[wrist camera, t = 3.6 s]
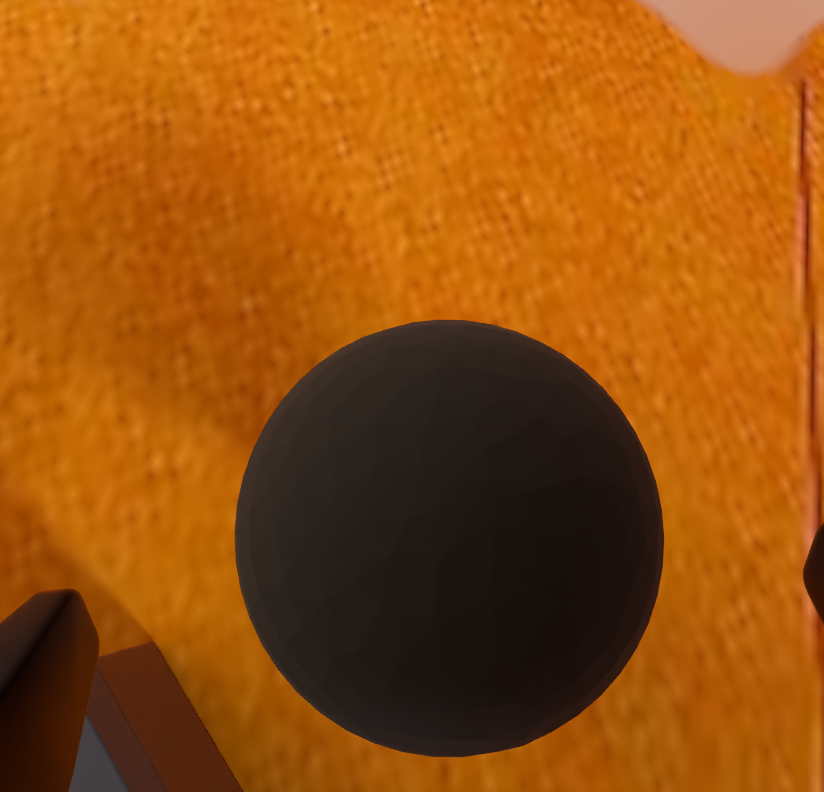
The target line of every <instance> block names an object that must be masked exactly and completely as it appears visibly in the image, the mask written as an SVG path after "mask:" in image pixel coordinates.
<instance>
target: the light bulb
mask: <svg viewBox="0 0 824 792" xmlns="http://www.w3.org/2000/svg"><path fill="white" fill-rule="evenodd" d="M663 549H664V531H663V519H662V508H661V504H660V499H659V494H658V489H657V484H656V481H655V478H654V475H653V472H652V469H651V466H650V463H649V460H648V457H647V455H646V453H645V451H644V449H643V447H642V445H641V443H640V441H639V439H638V436H637V434H636V432H635V431H634V429H633V427H632V426H631V424H630V423H629V421H628V420H627V418H626V417H625V415H624V414H623V412H622V411H621V409H620V408H619V406H618V405H617V404H616V403H615V402H614V401H613V399H612V398H611V397H610V396H609V395H608V393H607V392H606V391H605V390H604V389H603V387H601V386H600V385H599V384H598V383H597V382H596V381H595V380H594V379H593V378H592V377H591V376H590V375H589V374H588V373H587V372H585V371H584V370H583V369H582V368H581V367H579V366H578V365H576V364H575V363H574V362H572V361H571V360H570V359H568V358H567V357H566V356H564V355H563V354H561V353H559V352H558V351H556V350H554V349H552V348H550V347H549V346H547V345H545V344H543V343H541V342H539V341H537V340H535V339H532V338H530V337H528V336H525V335H523V334H521V333H518V332H516V331H513V330H509V329H505V328H502V327H498V326H495V325H491V324H485V323H478V322H472V321H465V320H432V321H422V322H413V323H409V324H405V325H401V326H398V327H394V328H390V329H386V330H383V331H380V332H377V333H374V334H371V335H368V336H365V337H362V338H360V339H358V340H357V341H355V342H353V343H351V344H349V345H347V346H345V347H343V348H341V349H339V350H338V351H336V352H335V353H333V354H332V355H330V356H329V357H327V358H326V359H324V360H323V361H322V362H320V363H319V364H318V365H316V366H315V367H314V368H313V369H312V370H311V371H310V372H308V373H307V374H306V375H305V376H304V377H303V378H302V379H300V380H299V381H298V383H297V384H296V385H295V386H294V387H293V388H292V389H291V391H290V392H289V393H288V394H287V395H286V396H285V397H284V398H283V400H282V401H281V402H280V404H279V405H278V407H277V408H276V410H275V411H274V412H273V414H272V415H271V417H270V418H269V420H268V421H267V423H266V425H265V427H264V429H263V431H262V433H261V435H260V437H259V438H258V440H257V442H256V444H255V446H254V449H253V451H252V454H251V456H250V459H249V462H248V465H247V468H246V470H245V473H244V476H243V480H242V485H241V489H240V494H239V498H238V503H237V512H236V523H235V552H236V565H237V570H238V576H239V582H240V588H241V592H242V595H243V598H244V601H245V605H246V608H247V611H248V614H249V617H250V620H251V622H252V624H253V626H254V628H255V630H256V633H257V635H258V637H259V639H260V641H261V643H262V645H263V647H264V648H265V650H266V651H267V653H268V655H269V656H270V658H271V659H272V661H273V662H274V664H275V665H276V667H277V669H278V670H279V671H280V672H281V674H282V675H283V676H284V677H285V678H286V679H287V681H288V682H289V683H290V684H291V685H292V686H293V688H294V689H295V690H296V691H297V692H298V693H299V694H300V695H301V696H302V697H303V698H304V699H305V700H307V701H308V702H309V703H310V704H311V705H312V706H313V707H314V708H316V709H317V710H318V711H319V712H320V713H321V714H323V715H324V716H326V717H327V718H329V719H330V720H332V721H333V722H335V723H336V724H338V725H339V726H341V727H342V728H344V729H345V730H347V731H349V732H351V733H353V734H355V735H358V736H360V737H362V738H364V739H366V740H368V741H370V742H373V743H375V744H379V745H382V746H385V747H388V748H391V749H395V750H398V751H401V752H406V753H413V754H419V755H425V756H431V757H465V756H472V755H479V754H485V753H492V752H498V751H503V750H507V749H511V748H515V747H520V746H524V745H526V744H528V743H530V742H532V741H534V740H536V739H538V738H540V737H542V736H544V735H546V734H548V733H550V732H552V731H554V730H555V729H557V728H559V727H560V726H562V725H563V724H565V723H566V722H568V721H570V720H571V719H573V718H574V717H576V716H577V715H579V714H580V713H581V712H582V711H583V710H585V709H586V708H587V707H588V706H589V705H590V704H592V703H593V702H594V701H595V700H596V699H597V698H598V697H600V696H601V695H602V694H603V692H604V691H605V690H606V689H607V688H608V687H609V686H610V684H611V683H612V682H613V681H614V680H615V679H616V678H617V676H618V675H619V674H620V673H621V671H622V670H623V668H624V667H625V665H626V664H627V662H628V661H629V659H630V658H631V656H632V655H633V653H634V651H635V650H636V648H637V646H638V644H639V642H640V640H641V638H642V636H643V634H644V631H645V629H646V627H647V625H648V623H649V620H650V617H651V614H652V611H653V608H654V605H655V601H656V598H657V595H658V590H659V584H660V579H661V573H662V568H663Z"/></svg>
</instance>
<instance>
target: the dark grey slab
mask: <svg viewBox="0 0 824 792" xmlns="http://www.w3.org/2000/svg"><path fill="white" fill-rule="evenodd" d="M68 792H243V791H242V790H241V788H240V786H239V784H238V783H237V781H236V779H235V778H234V776H233V774H232V773H231V771H230V769H229V768H228V766H227V764H226V763H225V761H224V759H223V758H222V756H221V754H220V753H219V751H218V749H217V747H216V746H215V744H214V742H213V741H212V739H211V737H210V736H209V734H208V732H207V731H206V729H205V727H204V726H203V724H202V722H201V721H200V719H199V717H198V715H197V714H196V712H195V710H194V709H193V707H192V705H191V704H190V702H189V700H188V699H187V697H186V695H185V694H184V692H183V690H182V689H181V687H180V685H179V683H178V682H177V680H176V678H175V677H174V675H173V673H172V672H171V670H170V668H169V667H168V665H167V663H166V662H165V660H164V658H163V657H162V655H161V653H160V652H159V650H158V648H157V646H156V645H155V643H154V642H148V643H145V644H142V645H138V646H135V647H131V648H128V649H124V650H121V651H117V652H114V653H110V654H107V655H103V656H100V657H98V660H97V665H96V670H95V674H94V679H93V684H92V688H91V693H90V698H89V702H88V707H87V712H86V717H85V721H84V726H83V731H82V735H81V740H80V745H79V749H78V754H77V759H76V763H75V768H74V772H73V776H72V780H71V784H70V788H69V791H68Z"/></svg>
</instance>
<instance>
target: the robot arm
mask: <svg viewBox="0 0 824 792" xmlns="http://www.w3.org/2000/svg"><path fill="white" fill-rule="evenodd" d="M803 580H804V584H805V588H806V590H807V592H808V594H809V596H810V599H811V601H812V603H813V605H814V607H815V609H816V611H817V613H818V615H819V617H820V619H821V621H822V623H823V625H824V523H823V524H822V525H821V526H820V527H819V528H818V530H817V532H816V535H815V537H814V540H813V543H812V546H811V549H810V551H809V554H808V557H807V560H806V563H805V565H804V569H803ZM98 655H99V638H98V634H97V631H96V629H95V627H94V624H93V622H92V619H91V617H90V615H89V612H88V610H87V608H86V605H85V603H84V601H83V598H82V596H81V595H80V593H79V592H78V591H76V590H74V589H61V590H50V591H42V592H39V593H37V594H35V595H34V596H33V597H31V598H30V599H29V600H28V601H26V602H25V603H24V604H23V605H22V606H20V607H19V608H18V609H17V610H16V611H15V612H13V613H12V614H11V615H10V616H9V617H7V618H6V619H5V620H4V621H3V622H1V623H0V792H68V791H69V788H70V784H71V780H72V776H73V772H74V768H75V763H76V759H77V754H78V749H79V745H80V740H81V735H82V731H83V726H84V721H85V717H86V712H87V707H88V702H89V698H90V693H91V688H92V684H93V679H94V674H95V670H96V665H97V660H98Z"/></svg>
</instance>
